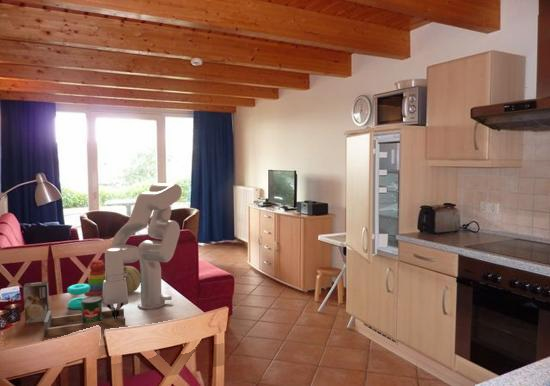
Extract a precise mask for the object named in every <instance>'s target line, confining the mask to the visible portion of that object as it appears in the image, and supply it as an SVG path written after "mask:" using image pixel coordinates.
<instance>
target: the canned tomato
mask: <svg viewBox="0 0 550 386" xmlns="http://www.w3.org/2000/svg"><path fill="white" fill-rule="evenodd" d="M102 303H103V299H102V296H87V297H86V298H84V299H82V300H81V307H82V308H81V314H82V321H81V323H89V322H96V321H103V319H102V311H103V310H102V309H103V307H102Z"/></svg>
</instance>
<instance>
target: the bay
mask: <svg viewBox="0 0 550 386" xmlns="http://www.w3.org/2000/svg"><path fill="white" fill-rule="evenodd" d="M115 313H116V308H115ZM124 316H125V308H123V307H121V308H120V310H119V317H120V318H119V317H118V319H114V318H113V319H112V311H111V310H110V309H109V310H102V321H96V322H89V323H82V313H76V314H75V313H74V314H68V315H62V316H61V315H60V316H54V317H53V316H52V310H50V311H48V313H47V315H46V318H45V321H43V327H44V329H43V330H44V331H43V332H44V337H45V338H49V337H55V336H62V335H67V334H73V333H72V332H76V331H79V330H83V329H86V328H90V327H93V326H96V325H99V326H100V327H101V328H102V329H103V330H104V329H110V328H111V329H112V328H117V327H123V326H126V317H124ZM110 318H111V319H110ZM103 319H104V320H103ZM80 322H81V323H80ZM71 323H72V324H71ZM73 323H74V324H73ZM75 323H76V324H75ZM64 324H67V325H64ZM58 325H61V326H58ZM52 326H53V327H52ZM102 329H101V330H102ZM76 333H77V332H76Z"/></svg>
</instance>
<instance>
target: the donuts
mask: <svg viewBox="0 0 550 386" xmlns="http://www.w3.org/2000/svg"><path fill="white" fill-rule="evenodd" d="M89 290H90V285H88V283H76V284H72V285H70V286H68V287H67V293H68V294H70V295H72V296H80V295H85V293H87V292H88V291H89ZM84 298H87V297H86V296H85V297H84V296H80V297H75V298H71V299H70V300H69V301H68V302H67V307H68V308H69V309H72V310H79V309H81V310H82V307H81V300H82V299H84Z"/></svg>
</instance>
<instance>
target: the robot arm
mask: <svg viewBox="0 0 550 386" xmlns="http://www.w3.org/2000/svg"><path fill="white" fill-rule="evenodd" d="M182 194H183V193H182V187H181V186H180V185H179V184H177V183H169V182H168V183H167V182H163V183H162V182H158V183H157V182H156V183H153V184H151V185H150V187H149V190H148V191H143V192H140V193H139V194H138V195H137V198H136V199H135V200H136V201H135V204H134V206H133V208H132V211H131V214H130V217H129V219H128V221H127V222H126V223H125V224H124V225H123V226H122V227H121V228H120V229H119V230H117V232H116V233H115V234H114V237H113V240H112V242H111V245H110V248H107V249H106V250H105V251H104V269H105V270H104V271H105V280H104V282H103V293H102V295H101V298H102V299H101V300H102V308H108V309H109V310H111V311H112V317H111V319H112V318H113V319H118V318H119V317H120V316H119V310H120V309H122V308H123V307H124V306H126V305H128V304H129V298H128V297H129V294H128V291H127V282H126V278H124V277H126V276H128V274H127V273H124V266H125V264H134V263H136V262H137V261H139V266H140V268H139V269H140V270H139V271H140V275H141V283H140V301H139V302H138V303H137V307H138V308H140V309H141V310H155V308H156V309H158V308H159V309H160V308H161V306H162V307H164V306H165V305H166V301H170V300H172V295H168V294H166V295H163V294H162V267H161V263H168V262H170V261H171V259H172V258H173V256H174V254H175V251H176V248H177V245H178V241H179V238H180V235H181V234H180V232H181V228H180V224H179V223H178V222H177V221H176V220H174V219H173V220H172V219H171V215H172V208H171V205H173V204H174V203H177V202H178V201H179V200H180V198H181V196H182ZM147 227H148V228H147ZM146 228H147V235H148V236H149V237H150V238H152V239H156V240H152V239H146V240H143V241H142V242H141V243H139V245H138V246H136V245H132V244H131V245H130V244H127V241H128V240H129V238H131V236H133V235H134V234H136V233H138V232H140V231H142V230H144V229H146ZM157 239H158V240H157ZM116 304H117V305H116ZM164 304H165V305H164ZM114 305H116V307H115V306H114ZM163 305H164V306H163ZM115 309H116V313H115Z"/></svg>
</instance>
